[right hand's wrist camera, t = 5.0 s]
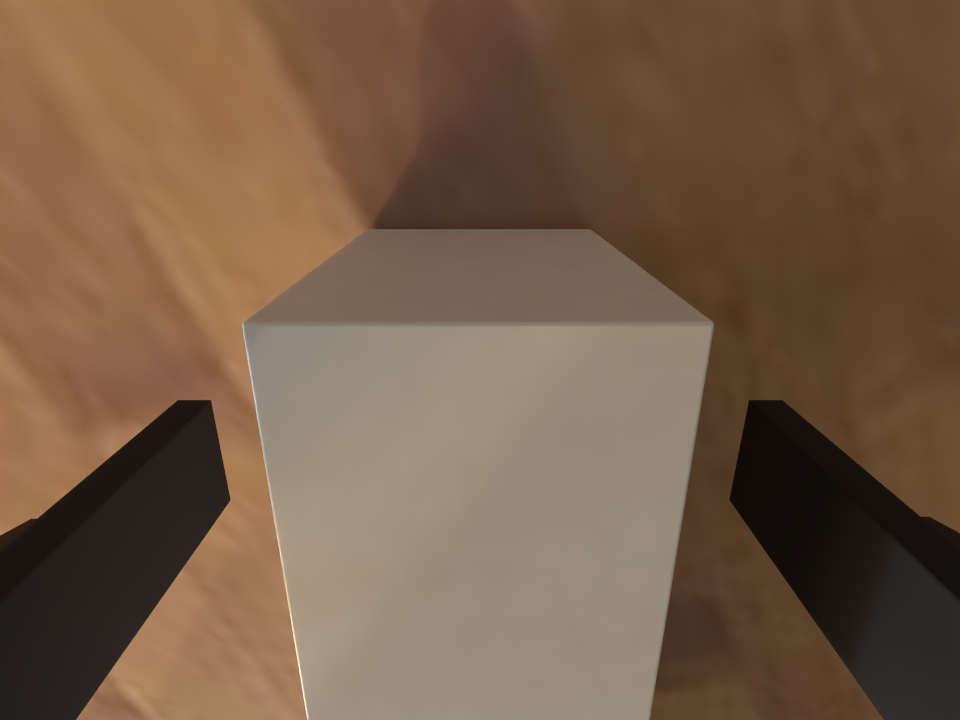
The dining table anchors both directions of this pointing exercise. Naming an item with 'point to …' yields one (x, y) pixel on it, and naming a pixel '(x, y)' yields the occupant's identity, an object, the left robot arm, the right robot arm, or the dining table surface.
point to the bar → (478, 472)
